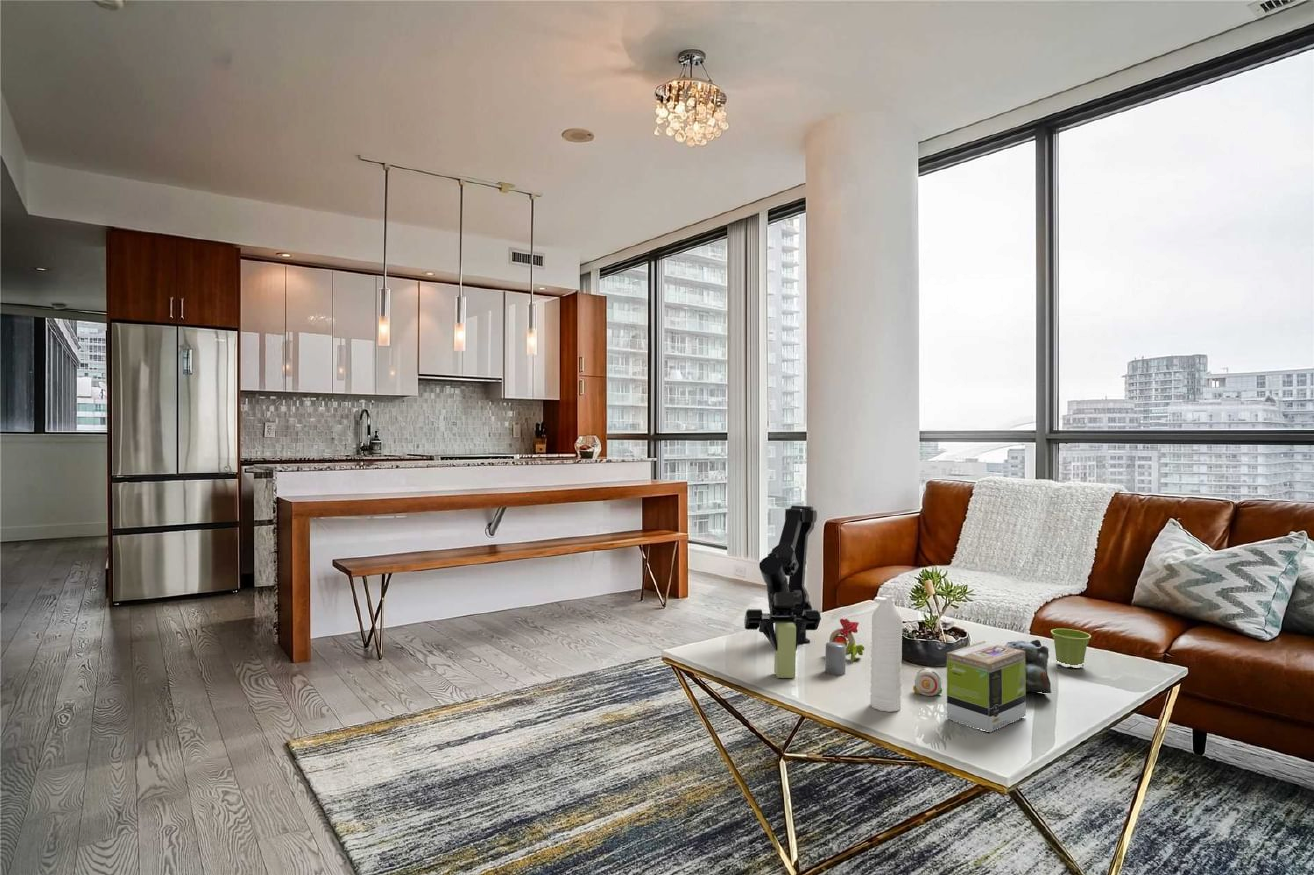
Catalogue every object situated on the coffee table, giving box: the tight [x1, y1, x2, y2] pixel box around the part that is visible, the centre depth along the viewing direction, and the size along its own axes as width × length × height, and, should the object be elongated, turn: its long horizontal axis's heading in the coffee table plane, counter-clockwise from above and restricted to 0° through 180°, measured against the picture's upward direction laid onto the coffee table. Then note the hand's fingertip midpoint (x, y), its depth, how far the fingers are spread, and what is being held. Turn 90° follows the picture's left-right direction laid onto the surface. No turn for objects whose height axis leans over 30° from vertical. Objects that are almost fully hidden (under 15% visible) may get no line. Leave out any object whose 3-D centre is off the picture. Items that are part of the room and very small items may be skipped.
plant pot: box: [1050, 628, 1092, 665], centre depth 199 cm, size 9×9×9 cm
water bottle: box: [869, 594, 904, 713], centre depth 166 cm, size 9×6×25 cm
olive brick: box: [773, 622, 797, 679], centre depth 187 cm, size 4×4×12 cm
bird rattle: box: [828, 618, 865, 662], centre depth 203 cm, size 6×11×9 cm
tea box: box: [946, 641, 1027, 733], centre depth 161 cm, size 15×10×15 cm, turn 127°
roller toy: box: [912, 667, 943, 697], centre depth 176 cm, size 4×6×6 cm
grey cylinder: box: [824, 642, 847, 677], centre depth 191 cm, size 5×5×7 cm
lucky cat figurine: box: [1004, 639, 1052, 694], centre depth 180 cm, size 15×12×14 cm
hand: (786, 650), depth 185 cm, fingers closed on olive brick, 4 cm apart
